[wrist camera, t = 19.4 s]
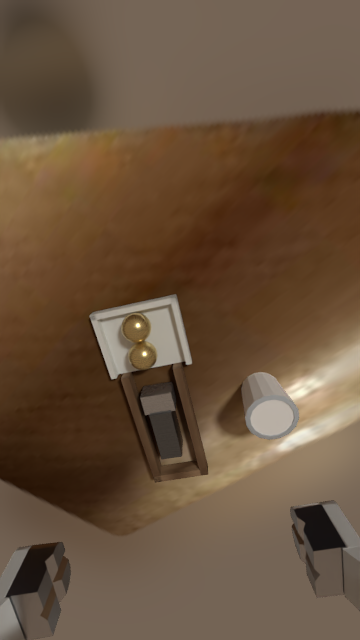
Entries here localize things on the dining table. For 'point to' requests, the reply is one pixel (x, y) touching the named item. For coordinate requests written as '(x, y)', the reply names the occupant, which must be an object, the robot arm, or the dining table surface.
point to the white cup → (268, 407)
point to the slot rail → (146, 438)
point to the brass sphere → (143, 355)
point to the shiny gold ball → (136, 327)
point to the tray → (163, 336)
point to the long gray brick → (163, 418)
